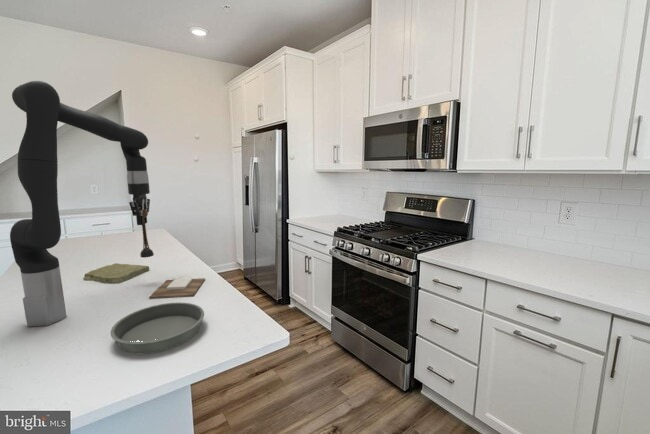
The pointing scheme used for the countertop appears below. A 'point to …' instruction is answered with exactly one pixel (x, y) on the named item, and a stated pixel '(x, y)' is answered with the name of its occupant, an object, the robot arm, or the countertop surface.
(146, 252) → the wooden tabletop sculpture
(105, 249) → the countertop surface
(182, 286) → the glazed tile
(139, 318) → the cake pan
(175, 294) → the walnut board
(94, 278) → the olive green flat slab
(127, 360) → the countertop surface
